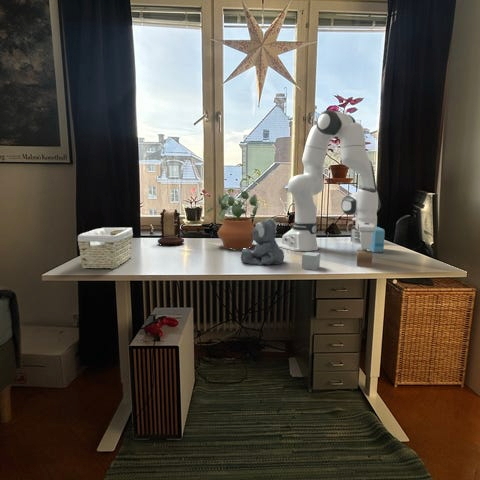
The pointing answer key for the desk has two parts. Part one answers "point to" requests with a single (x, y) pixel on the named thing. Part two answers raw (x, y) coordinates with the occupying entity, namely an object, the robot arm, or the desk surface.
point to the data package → (377, 240)
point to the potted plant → (236, 222)
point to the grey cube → (311, 260)
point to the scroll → (170, 228)
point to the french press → (354, 234)
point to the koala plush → (264, 245)
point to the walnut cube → (364, 258)
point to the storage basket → (105, 247)
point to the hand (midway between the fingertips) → (364, 255)
